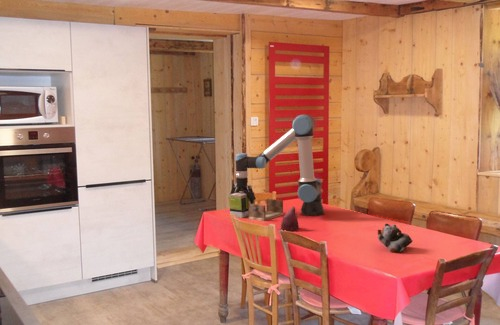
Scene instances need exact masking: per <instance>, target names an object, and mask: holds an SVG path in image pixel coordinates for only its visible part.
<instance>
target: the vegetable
mask: <svg viewBox="0 0 500 325" xmlns="http://www.w3.org/2000/svg"><path fill="white" fill-rule="evenodd" d="M299 227H300V226H299V221H298V217H297V214H296V206H292V207H291V208H289V210H288V211H287V212H285V214H284V215H283V217H282V220H281V224H280V230H281V229H282V230H281V231H284V230H286V231H285V232H295V231H298V230H299Z"/></svg>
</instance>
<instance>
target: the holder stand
mask: <svg viewBox="0 0 500 325" xmlns="http://www.w3.org/2000/svg"><path fill="white" fill-rule="evenodd" d="M280 216H284V200H283V199H274V198H266V205H265V204H257V203H255V204H249V216H248V219H249V220H255V221H261V222H266V221H268V220H272V219H274V218H278V217H280Z"/></svg>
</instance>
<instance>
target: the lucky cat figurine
mask: <svg viewBox="0 0 500 325" xmlns="http://www.w3.org/2000/svg"><path fill="white" fill-rule="evenodd" d="M377 238H378V240H379V242H380V243H381V244H383V246H385V248H386V249H388V251H389V252H391V253H394V254H395V253H396V254H399V253H400V252H402V251H404V250H405V249H406V248H408V247H409V246H410V245H411V243H413V240H412V238H411V236H410V235H409V234H408V233H404V232H402V230H401V229H400V228H399V227H397V225H396V224H392V225H391V224H388V223H385V224H384V226H383V227H382V229H377Z"/></svg>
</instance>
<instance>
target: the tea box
mask: <svg viewBox="0 0 500 325" xmlns="http://www.w3.org/2000/svg"><path fill="white" fill-rule="evenodd" d="M253 193H254V194H255V191H253ZM228 198H229V216H230V215H231V214H235V216H236V217H235V218H241V219H242V218H246V217H249V201H250V200H249V198H248V197H247V194H245V193H244V192H242V191H239V192H238V193H235V192H234V194H230V193H229V195H228ZM253 204H256V200H253Z"/></svg>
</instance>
